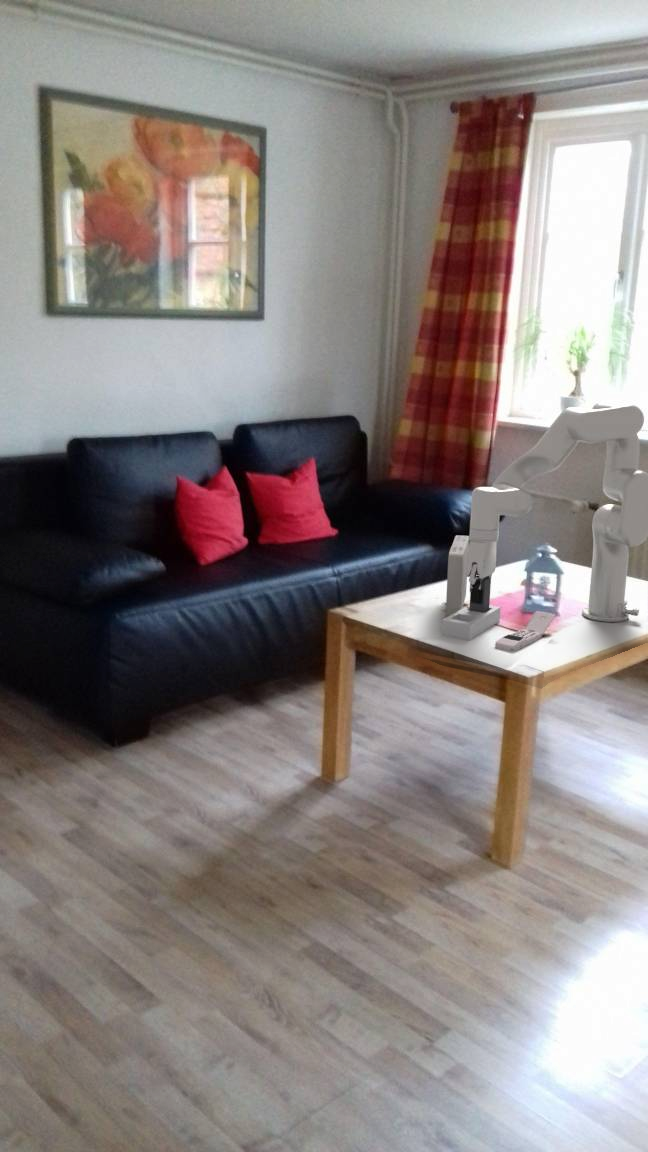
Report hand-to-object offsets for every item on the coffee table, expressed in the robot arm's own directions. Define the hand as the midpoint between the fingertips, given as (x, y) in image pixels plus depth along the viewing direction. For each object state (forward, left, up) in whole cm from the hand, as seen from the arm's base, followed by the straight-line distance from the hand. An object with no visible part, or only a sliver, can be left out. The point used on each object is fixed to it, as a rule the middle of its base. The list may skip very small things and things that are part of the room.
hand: (479, 600), depth 274 cm
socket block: (0, +5, -7) cm, 9 cm away
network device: (+11, -8, -8) cm, 15 cm away
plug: (0, 0, -6) cm, 6 cm away
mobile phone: (-15, +6, -8) cm, 18 cm away
